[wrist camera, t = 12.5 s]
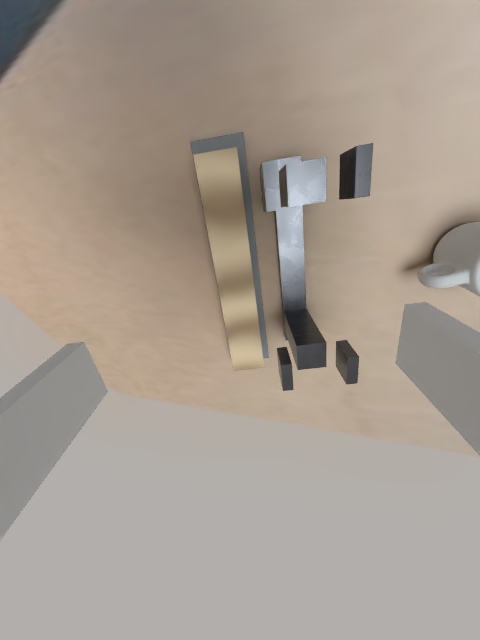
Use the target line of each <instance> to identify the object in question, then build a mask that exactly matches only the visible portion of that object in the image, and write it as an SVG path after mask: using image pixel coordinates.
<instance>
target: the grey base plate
mask: <svg viewBox="0 0 480 640" xmlns="http://www.w3.org/2000/svg"><path fill="white" fill-rule="evenodd" d="M190 143H191V148H192V153H193V155H194V154H200V153H206V152H211V151H217V150H222V149H228V148H234V147H237V152H238V160H239V168H240V176H241V184H242V192H243V200H244V208H245V216H246V224H247V232H248V240H249V248H250V256H251V264H252V272H253V280H254V288H255V296H256V304H257V312H258V320H259V329H260V337H261V345H262V353H263V358H269V356H268V348H267V339H266V330H265V321H264V313H263V304H262V295H261V286H260V278H259V269H258V260H257V251H256V242H255V234H254V225H253V216H252V207H251V199H250V190H249V181H248V172H247V164H246V155H245V146H244V137H243V132H241V133H236V134H230V135H225V136H219V137H214V138H208V139H203V140H197V141H192V142H190ZM193 158H194V157H193ZM194 164H195V162H194ZM195 169H196V168H195ZM196 174H197V173H196ZM197 180H198V178H197ZM198 185H199V184H198ZM199 190H200V189H199ZM200 196H201V194H200ZM201 201H202V200H201ZM202 206H203V205H202ZM203 211H204V210H203ZM204 217H205V216H204ZM205 222H206V221H205ZM206 227H207V226H206ZM207 233H208V231H207ZM208 238H209V237H208ZM209 243H210V242H209ZM210 248H211V247H210ZM211 254H212V253H211ZM212 259H213V258H212ZM213 264H214V263H213ZM214 270H215V269H214ZM215 275H216V274H215ZM216 280H217V279H216ZM218 291H219V290H218ZM219 296H220V295H219ZM220 301H221V300H220ZM221 307H222V306H221ZM222 312H223V311H222ZM223 317H224V316H223ZM224 323H225V322H224ZM225 328H226V327H225ZM226 333H227V332H226ZM228 344H229V343H228ZM229 349H230V348H229ZM231 360H232V359H231Z"/></svg>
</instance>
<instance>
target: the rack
mask: <svg viewBox="0 0 480 640" xmlns="http://www.w3.org/2000/svg"><path fill="white" fill-rule="evenodd" d="M372 154H373V143H371V144H365V145H359V146H356V147H354V148H352V149H350V150H348V151H346V152H344V153H343V154H341V155H340V188H339V199H352V198H360V197H366V196H370V184H371V169H372ZM260 178H261V189H262V199H263V210H264V211H265V212H270V211H275V217H276V230H277V243H278V256H279V268H280V281H281V294H282V307H283V319H284V332H285V339H286V340H288V341H289V344H290V347H291V350H292V354H293V357H294V360H295V363H296V366H297V369H298V370H301V369H310V368H320V367H326V341H325V339H324V338H323V336H322V334H321V333H320V331H319V329H318V328H317V326H316V324H315V323H314V321H313V319H312V318H311V316H310V314H309V313H308V311H307V309H306V291H305V263H304V235H303V207H302V205H306V204H313V203H319V202H325V201H326V157H324V158H318V159H312V160H306V161H301V156H295V157H289V158H283V159H278V160H272V161H266V162H262V164H261V166H260ZM277 355H278V366H279V374H280V379H281V383H282V388H283V391H286V390H293V376H292V364H291V360H290V357H289V353H288V350H287V347H282V348H277ZM358 365H359V356H358V355H357V353H356V352H355V351H354V349H353V348H352V347H351V345H350V344H349V343H348V341H347V340H343V341H336V367H337V369H338V370H339V372H340V374H341V376H342V377H343V379H344V381H345V383H346V384H355V383H357V380H358Z"/></svg>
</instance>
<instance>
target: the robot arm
mask: <svg viewBox="0 0 480 640" xmlns="http://www.w3.org/2000/svg"><path fill="white" fill-rule="evenodd" d="M396 364H397V365H398V366H399V368H400V369H401V370H402V371H403V372H404V373H405V374H406V375H407V376H408V377H409V379H410V380H411V381H412V382H413V383H414V384H415V385H416V386H417V387H418V388H419V389H420V391H421V392H422V393H423V394H424V395H425V396H426V397H427V398H428V399H429V400H430V402H431V403H432V404H433V405H434V406H435V407H436V408H437V409H438V410H439V411H440V412H441V414H442V415H443V416H444V417H445V418H446V419H447V420H448V421H449V422H450V423H451V425H452V426H453V427H454V428H455V429H456V430H457V431H458V432H459V433H460V434H461V435H462V437H463V438H464V439H465V440H466V441H467V442H468V443H469V444H470V445H471V446H472V448H473V449H474V450H475V451H476V452H477V453H478V454H479V455H480V333H479V332H477V331H476V330H474V329H472V328H470V327H469V326H467V325H465V324H463V323H462V322H460V321H458V320H456V319H455V318H453V317H451V316H449V315H448V314H446V313H444V312H442V311H440V310H439V309H437V308H435V307H433V306H432V305H430V304H428V303H426V302H422V303H414V304H405V306H404V313H403V319H402V325H401V332H400V338H399V344H398V351H397V357H396ZM107 392H108V391H107V388H106V386H105V384H104V382H103V380H102V378H101V376H100V374H99V372H98V370H97V368H96V366H95V364H94V361H93V359H92V357H91V355H90V353H89V351H88V349H87V347H86V345H85V343H84V342H79V343H71V344H67V345H65V346H64V347H63V348H62V349H61V350H59V351H58V352H57V353H56V354H54V355H53V356H52V357H51V358H49V359H48V360H47V361H46V362H44V363H43V364H42V365H41V366H39V367H38V368H37V369H36V370H34V371H33V372H32V373H31V374H29V375H28V376H27V377H26V378H24V379H23V380H22V381H21V382H19V383H18V384H17V385H16V386H15V387H13V388H12V389H11V390H10V391H8V392H7V393H6V394H5V395H4V396H2V397H1V398H0V540H1V539H2V537H3V536H4V535H5V533H6V532H7V531H8V529H9V528H10V526H11V525H12V524H13V522H14V521H15V520H16V518H17V517H18V515H19V514H20V513H21V511H22V510H23V508H24V507H25V506H26V504H27V503H28V502H29V500H30V499H31V497H32V496H33V495H34V493H35V492H36V490H37V489H38V488H39V486H40V485H41V484H42V482H43V481H44V479H45V478H46V477H47V475H48V474H49V472H50V471H51V470H52V468H53V467H54V466H55V464H56V463H57V461H58V460H59V459H60V457H61V456H62V454H63V453H64V452H65V450H66V449H67V448H68V446H69V445H70V443H71V441H73V439H74V438H75V436H76V435H77V434H78V432H79V431H80V430H81V428H82V427H83V425H84V424H85V423H86V421H87V420H88V418H89V417H90V416H91V414H92V413H93V412H94V410H95V409H96V407H97V406H98V405H99V403H100V402H101V400H102V399H103V398H104V396H105V395H106V394H107Z"/></svg>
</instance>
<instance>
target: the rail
mask: <svg viewBox="0 0 480 640" xmlns="http://www.w3.org/2000/svg"><path fill="white" fill-rule="evenodd" d="M193 157H194V162H195V168H196V173H197V178H198V184H199V189H200V194H201V200H202V205H203V210H204V216H205V221H206V226H207V231H208V237H209V242H210V247H211V253H212V258H213V263H214V269H215V274H216V279H217V285H218V290H219V295H220V300H221V306H222V311H223V316H224V322H225V327H226V332H227V338H228V343H229V348H230V354H231V359H232V364H233V369H234V371H238V370H247V369H256V368H264V361H263V353H262V345H261V337H260V329H259V320H258V312H257V304H256V296H255V288H254V280H253V272H252V264H251V256H250V248H249V240H248V232H247V224H246V216H245V208H244V200H243V192H242V184H241V176H240V168H239V160H238V152H237V147H234V148H228V149H222V150H217V151H211V152H206V153H200V154H194V155H193Z"/></svg>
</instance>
